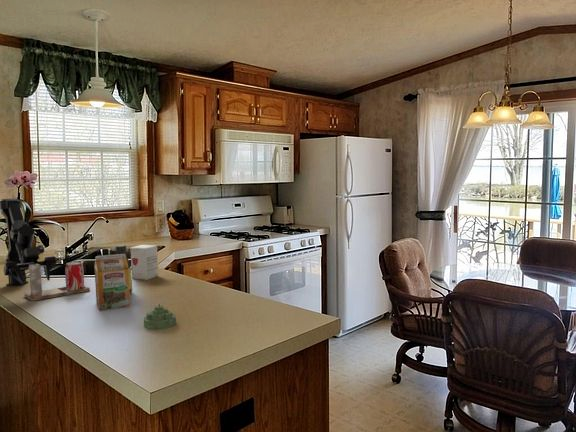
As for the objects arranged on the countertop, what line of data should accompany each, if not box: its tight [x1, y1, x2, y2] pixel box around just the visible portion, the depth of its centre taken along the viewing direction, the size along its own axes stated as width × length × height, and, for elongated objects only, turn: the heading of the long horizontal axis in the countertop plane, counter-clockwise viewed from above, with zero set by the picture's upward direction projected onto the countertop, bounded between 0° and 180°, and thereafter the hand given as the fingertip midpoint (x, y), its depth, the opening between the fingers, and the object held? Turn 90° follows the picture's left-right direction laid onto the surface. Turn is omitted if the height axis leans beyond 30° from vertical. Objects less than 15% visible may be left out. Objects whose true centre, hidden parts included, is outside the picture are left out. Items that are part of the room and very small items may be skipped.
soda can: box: [64, 261, 85, 291], centre depth 200 cm, size 7×7×12 cm
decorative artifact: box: [143, 303, 177, 331], centre depth 154 cm, size 10×7×10 cm
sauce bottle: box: [115, 244, 133, 294], centre depth 195 cm, size 7×6×20 cm
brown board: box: [23, 264, 91, 302], centre depth 196 cm, size 22×10×13 cm, turn 135°
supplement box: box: [130, 244, 159, 281], centre depth 225 cm, size 9×9×15 cm
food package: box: [94, 253, 131, 312], centre depth 177 cm, size 10×11×19 cm
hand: (36, 282), depth 189 cm, fingers open, 9 cm apart
